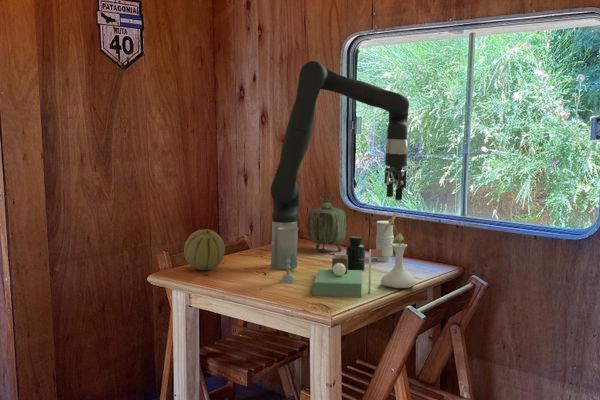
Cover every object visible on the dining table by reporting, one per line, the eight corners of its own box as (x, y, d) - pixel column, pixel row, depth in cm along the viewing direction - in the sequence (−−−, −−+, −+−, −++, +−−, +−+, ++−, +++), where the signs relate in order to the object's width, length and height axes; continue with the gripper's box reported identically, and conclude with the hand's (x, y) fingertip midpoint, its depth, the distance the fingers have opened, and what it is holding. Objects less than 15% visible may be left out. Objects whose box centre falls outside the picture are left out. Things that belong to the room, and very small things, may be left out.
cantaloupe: (202, 263, 229) (201, 224, 227) (233, 268, 222) (233, 227, 220) (175, 271, 217) (174, 229, 215) (207, 276, 209) (206, 233, 207)
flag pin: (368, 293, 190) (369, 249, 188) (368, 293, 190) (369, 249, 189) (380, 293, 189) (382, 249, 188) (380, 293, 190) (381, 249, 188)
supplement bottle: (363, 272, 217) (364, 239, 216) (344, 271, 219) (345, 238, 217) (365, 268, 224) (366, 235, 222) (347, 266, 225) (347, 235, 224)
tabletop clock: (345, 251, 253) (346, 191, 250) (335, 255, 246) (336, 193, 243) (316, 247, 261) (316, 189, 258) (304, 250, 253) (305, 191, 250)
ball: (332, 277, 200) (332, 264, 199) (332, 274, 204) (333, 261, 204) (345, 277, 199) (345, 264, 199) (345, 274, 204) (346, 261, 203)
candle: (394, 261, 234) (395, 223, 232) (376, 261, 234) (377, 223, 233) (392, 257, 241) (393, 220, 239) (374, 257, 241) (375, 220, 239)
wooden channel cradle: (332, 273, 205) (332, 258, 205) (333, 269, 211) (333, 255, 211) (346, 273, 205) (347, 259, 204) (347, 269, 211) (347, 255, 210)
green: (312, 295, 188) (312, 282, 187) (318, 275, 212) (318, 264, 211) (361, 296, 186) (361, 284, 185) (361, 277, 210) (362, 265, 210)
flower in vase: (392, 280, 207) (394, 207, 204) (422, 285, 199) (424, 210, 196) (371, 287, 197) (373, 211, 194) (402, 294, 189) (404, 214, 186)
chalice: (290, 285, 199) (291, 230, 197) (273, 282, 203) (273, 228, 200) (302, 280, 205) (303, 227, 203) (285, 277, 209) (286, 225, 207)
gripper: (379, 151, 218) (377, 195, 220) (393, 153, 205) (391, 201, 207) (398, 151, 220) (396, 195, 222) (414, 153, 206) (411, 201, 208)
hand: (394, 198), depth 214 cm, fingers open, 8 cm apart
